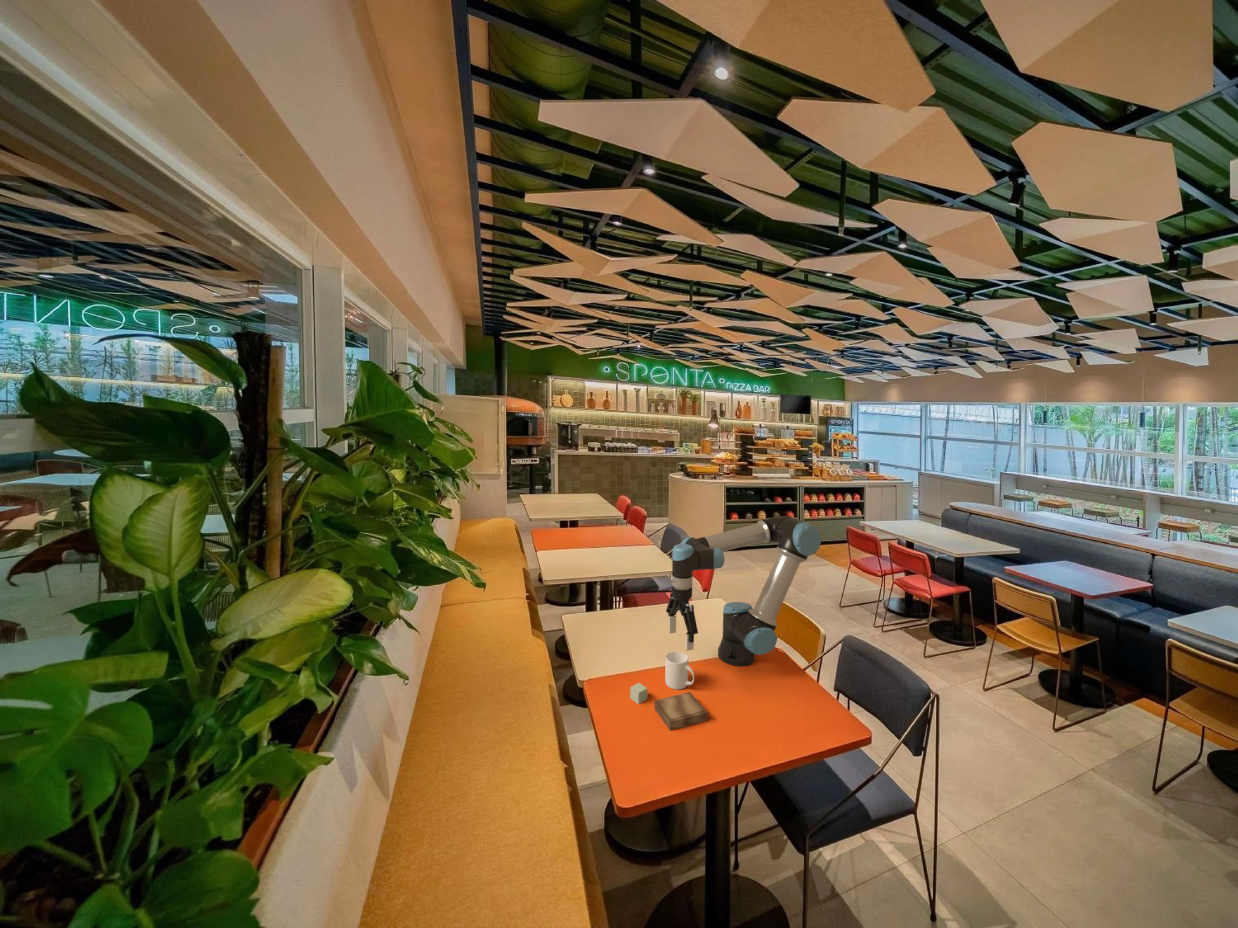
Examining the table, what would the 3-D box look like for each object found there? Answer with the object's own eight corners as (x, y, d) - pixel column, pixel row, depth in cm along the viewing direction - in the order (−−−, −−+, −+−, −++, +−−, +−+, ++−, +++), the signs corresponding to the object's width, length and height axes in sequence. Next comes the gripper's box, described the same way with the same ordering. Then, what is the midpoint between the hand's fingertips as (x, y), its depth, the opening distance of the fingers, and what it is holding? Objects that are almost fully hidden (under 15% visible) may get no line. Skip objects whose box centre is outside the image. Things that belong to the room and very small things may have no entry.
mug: (687, 696, 170) (688, 669, 169) (660, 684, 178) (661, 657, 176) (699, 686, 176) (700, 659, 175) (673, 674, 184) (674, 648, 183)
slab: (689, 699, 168) (689, 691, 168) (707, 720, 157) (707, 711, 157) (654, 708, 163) (654, 699, 163) (670, 730, 152) (670, 721, 152)
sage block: (638, 693, 172) (639, 682, 171) (647, 699, 169) (647, 687, 168) (630, 698, 169) (630, 687, 169) (638, 704, 166) (638, 692, 165)
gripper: (658, 576, 183) (657, 627, 185) (689, 600, 159) (688, 659, 162) (675, 573, 185) (674, 624, 188) (708, 597, 162) (707, 655, 165)
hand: (680, 640), depth 175 cm, fingers open, 13 cm apart
